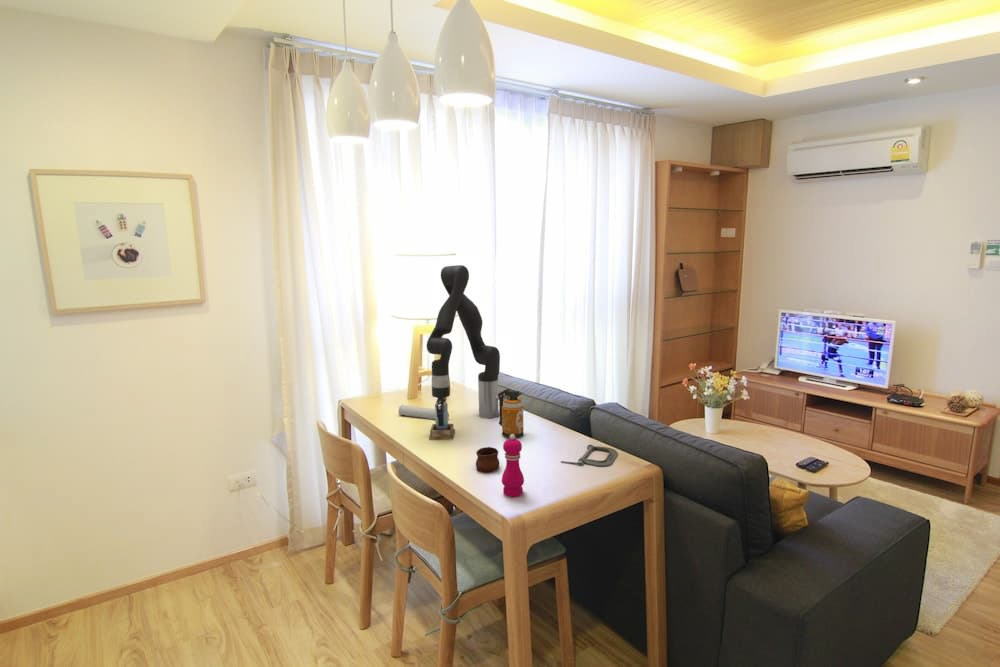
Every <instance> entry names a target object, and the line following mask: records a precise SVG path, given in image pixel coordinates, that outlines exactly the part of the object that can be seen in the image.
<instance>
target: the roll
mask: <svg viewBox="0 0 1000 667" xmlns="http://www.w3.org/2000/svg"><path fill="white" fill-rule="evenodd" d="M434 409H435V419H436V420H435V419H434V420H435V424H436V430H448V424H449V418H448V413H449V411H448V409H449V408H448V403H447V402H446V405H445V412H444V426H439V425H438V418H437V407H436V403H435V404H434ZM443 409H444V405H443ZM439 415H442V413H439Z"/></svg>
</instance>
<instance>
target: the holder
mask: <svg viewBox="0 0 1000 667" xmlns="http://www.w3.org/2000/svg"><path fill="white" fill-rule="evenodd" d="M429 430H430V431H429V433H430V434H429V436H428V440H429V441H430V440H431V441H432V440H433V441H435V440H436V441H438V440H439V441H440V440H441V441H443V440H454V437H455V434H456V428H455V426H454V423H448V430H436V423H432V425H431V427H430V429H429Z"/></svg>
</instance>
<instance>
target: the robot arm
mask: <svg viewBox="0 0 1000 667" xmlns="http://www.w3.org/2000/svg"><path fill="white" fill-rule="evenodd" d="M440 279H441V283H442V285H443V287H444V289H445V290H446V292H447V294H448V297H447V299H446V300H445V302H444V303H443V304H442V306H441V308H440V309H439V311H438V314H437V317H436V322H435V326H434V328H433V330H432V332H431V333H430V335H429V337H428V340H427V342H426V351H427V352H428V353H429V354H432V355H439V357H440V358H437V359H435V360H433V361H432V362H431V396H432V397H433V398H436V401H435V404H436V407H437V418H438V425H439V426H444V412H445V405H446V403H447V397H449V396H450V395H451V385H450V383H451V382H450V379H451V378H450V375H449V374H450V371H449V370H450V368H449V367H450V366H449V365H450V359H451V354H452V351H453V343H452V341H451V340H450V339H449V338H448V337H443V336H445V335H448V334H451V332H453V326H454V322H455V318H456V314H457V316H458V317H459V320H460V323H461V325H462V327H463V329H464V331H465V334H466V336H467V339H468V342H469V345H470V349H471V351H472V355H473V358H474V360H475V362H476V363H477V364H478V365H483V366H484V371H482V372H479V373H478V375H477V379H478V380H477V382H478V383H477V384H478V416H479V417H480V418H485V419H489V418H490V419H491V418H498V417H499V415H500V410H499V397H498V394H499V374H500V370H501V369H500V368H501V367H500V366H501V365H500V364H501V363H500V362H501V354H500V350H499V349H498V347H496V346H492V345H486V343H485V342H484V340H483V337H482V328H483V318H482V316H481V313H480V310H479V308H478V306H477V305H476V304H475V303H474V302H473V301H472V300H471V299H470V298H469V297H468V296H467V295H466V294H465V291H466V288H467V286H468V283H469V280H470V272H469V269H468V267H466V266H465V265H463V264H462V265H461V264H460V265H459V264H458V265H447V266H444V267H442V269H441V271H440ZM443 405H444V409H443ZM439 413H442V415H439Z"/></svg>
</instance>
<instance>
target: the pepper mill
mask: <svg viewBox="0 0 1000 667" xmlns="http://www.w3.org/2000/svg"><path fill="white" fill-rule="evenodd" d="M502 445H503V446H502V449H503V451H504V452H505V453H504V459H506V463H505V464H506V465H505V468H504V470H503V472H502V476H501V484H502V485H503V492H502V493H503V495H504V496H506V497H507V498H508V497H509V498H517V497H520V496H522V495H523V493H524V491H523V489H524V488H523V485H524V484H525V478H524V477H525V476H524V475H523V471H522V470H521V467H520V458H521V451H522V450H523V445H522V442H521V441H520V440H519V439H518V438H515V435H514V434H511V435H510V438H507V439H505V441H504V442H503V444H502Z"/></svg>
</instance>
